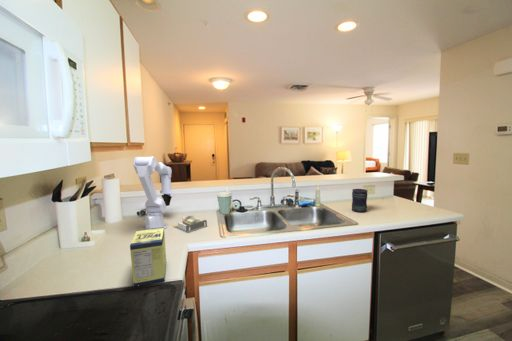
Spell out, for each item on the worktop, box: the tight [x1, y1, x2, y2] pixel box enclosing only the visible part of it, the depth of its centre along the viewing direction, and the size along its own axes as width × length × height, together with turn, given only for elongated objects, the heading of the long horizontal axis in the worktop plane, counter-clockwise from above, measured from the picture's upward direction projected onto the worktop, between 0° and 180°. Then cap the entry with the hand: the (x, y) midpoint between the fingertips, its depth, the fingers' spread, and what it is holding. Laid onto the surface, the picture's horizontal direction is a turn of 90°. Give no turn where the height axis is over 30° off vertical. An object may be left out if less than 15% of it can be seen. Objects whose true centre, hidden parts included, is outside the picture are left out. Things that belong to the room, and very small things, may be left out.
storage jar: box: [351, 188, 368, 214], centre depth 165 cm, size 10×10×15 cm
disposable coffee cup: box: [216, 190, 233, 215], centre depth 165 cm, size 11×11×15 cm
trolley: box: [182, 214, 201, 225], centre depth 139 cm, size 7×9×5 cm
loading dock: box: [172, 219, 208, 234], centre depth 141 cm, size 13×17×5 cm
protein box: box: [129, 227, 167, 287], centre depth 90 cm, size 10×16×16 cm
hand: (167, 205), depth 153 cm, fingers closed
